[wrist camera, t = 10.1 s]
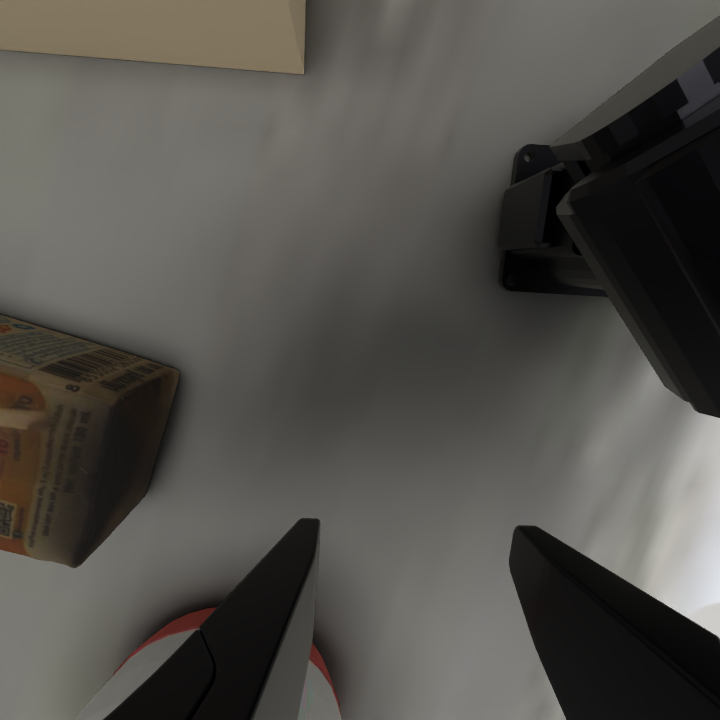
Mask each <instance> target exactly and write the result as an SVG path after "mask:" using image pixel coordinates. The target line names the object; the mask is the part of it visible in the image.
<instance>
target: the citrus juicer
mask: <svg viewBox="0 0 720 720" xmlns="http://www.w3.org/2000/svg"><path fill="white" fill-rule="evenodd" d="M216 608H217V607H216ZM216 608H207V609H203V610H199V611H195V612H192V613H189V614H186V615H184V616H182V617H180V618H178V619H176V620H173V621H172V622H170V623H169V624H168V625H166V626H165V627H163V628H162V629H161V630H159V631H158V632H157V633H155V634H154V635H153V636H152V637H151V638H149V639H148V640H147V641H146V642H144V643H143V644H142V645H141V646H140V647H139V648H138V649H136V650H135V651H134V652H133V653H132V654H131V655H130V656H129V657H128V658H127V659H126V660H125V661H124V662H123V663H122V664H121V666H120V667H119V668H118V669H117V670H116V671H115V673H114V675H113V676H112V678H111V679H110V680H109V681H108V682H107V683H106V684H105V685H104V686H103V687H102V688H101V689H100V690H99V691H98V692H97V693H96V695H95V696H94V697H93V698H92V699H91V700H90V701H89V702H88V703H87V705H86V706H85V707H84V708H83V709H82V710H81V712H80V713H79V714H78V716H77V717H76V718H75V719H74V720H103V719H104V718H105V717H106V716H107V715H109V714H110V713H111V712H112V711H113V710H114V709H115V708H116V707H118V706H119V705H120V704H121V703H122V702H123V701H124V700H125V699H126V698H127V697H128V696H130V695H131V694H132V693H133V692H134V691H135V690H136V689H137V688H138V687H139V686H140V685H141V684H143V683H144V682H145V681H146V680H147V679H148V678H149V677H150V676H151V675H152V674H153V673H154V672H155V671H156V670H157V669H158V668H159V667H160V666H161V665H162V664H163V663H164V662H165V661H166V660H167V659H168V658H169V657H170V656H171V655H172V654H173V653H174V652H175V651H176V650H177V649H178V648H179V647H180V646H181V645H182V644H183V643H184V642H185V641H186V640H187V639H188V638H189V636H190V635H191V634H192V633H193V632H194V631H195V630H198V629H199V626H200V625H201V624H202V623H203V622H204V621H205V620H206V619H207V618H208V616H209V615H210V614H211V613H212V612H213V611H214V610H215V609H216ZM297 720H342V719H341V713H340V703H339V701H338V698H337V695H336V692H335V689H334V687H333V684H332V681H331V679H330V676H329V673H328V670H327V668H326V666H325V663H324V661H323V658H322V656H321V655H320V653H319V652H318V650H317V648H316V647H315V645H314V644H313V642H312V645H311V652H310V657H309V662H308V668H307V673H306V678H305V683H304V688H303V693H302V699H301V704H300V709H299V714H298V719H297Z"/></svg>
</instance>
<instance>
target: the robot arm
mask: <svg viewBox="0 0 720 720" xmlns="http://www.w3.org/2000/svg"><path fill="white" fill-rule="evenodd" d="M526 152H527V153H529V154H530V155H531V161H530V162H526V161H525V160H524V154H525V153H526ZM498 245H499V247H500V248H501V250H503V252H502V259H501V267H500V274H499V285H500V287H501V288H503V289H504V290H508V291H519V292H536V293H553V294H570V295H587V296H603V297H609V299H610V300H611V302H612V303H613V305H614V307H615V308H616V310H617V311H618V313H619V315H620V316H621V318H622V319H623V321H624V322H625V324H626V326H627V327H628V329H629V330H630V332H631V334H632V335H633V337H634V338H635V340H636V342H637V343H638V345H639V346H640V348H641V350H642V351H643V353H644V354H645V356H646V357H647V359H648V361H649V362H650V364H651V365H652V367H653V369H654V370H655V372H656V373H657V375H658V377H659V378H660V380H661V381H662V383H663V385H664V386H665V387H666V388H668V389H669V390H670V391H672V392H673V393H675V394H676V395H677V396H679V397H680V398H682V399H683V400H685V401H687V402H690V403H691V405H692V407H693V408H694V410H695V411H697V412H699V413H703V414H707V415H710V416H714V417H718V418H720V16H718V17H717V18H715V19H714V20H713V21H711V22H710V23H708V24H707V25H705V26H704V27H703V28H701V29H700V30H698V31H697V32H695V33H694V34H693V35H691V36H690V37H688V38H687V39H685V40H684V41H683V42H681V43H680V44H678V45H677V46H675V47H674V48H673V49H671V50H670V51H669V52H667V53H666V54H665V55H664V56H662V57H661V58H660V59H659V60H657V61H656V62H655V63H654V64H652V65H651V66H650V67H649V68H647V69H646V70H645V71H644V72H642V73H641V74H640V75H638V76H637V77H636V78H635V79H633V80H632V81H631V82H630V83H628V84H627V85H626V86H625V87H623V88H622V89H621V90H620V91H618V92H617V93H616V94H615V95H613V96H612V97H611V98H610V99H608V100H607V101H606V102H605V103H603V104H602V105H601V106H600V107H598V108H597V109H596V110H594V111H593V112H592V113H591V114H589V115H588V116H587V117H586V118H584V119H583V120H582V121H581V122H579V123H578V124H577V125H576V126H574V127H573V128H572V129H571V130H569V131H568V132H567V133H566V134H564V135H563V136H562V137H561V138H559V139H558V140H557V141H556V142H554V143H553V144H552V145H551V146H549V145H536V144H529V145H526V146H524V147H522V148H521V149H519V151H518V152H517V153H516V156H515V162H514V169H513V177H512V184H511V186H510V187H509V188H508V189H507V190H506V191H505V196H504V204H503V211H502V219H501V227H500V234H499V242H498ZM510 275H512V276H513V277H514V282H513V283H512V284H511V285H508V284H507V278H508V277H509V276H510ZM319 546H320V520H319V519H313V518H301V519H299V520H298V521H297V523H296V524H295V525H294V526H293V527H292V528H291V529H290V530H289V531H288V532H287V533H286V534H285V535H284V536H283V537H282V539H281V540H280V541H279V542H278V543H277V544H276V545H275V546H274V547H273V548H272V549H271V550H270V551H269V552H268V553H267V555H266V556H265V557H264V558H263V559H262V560H261V561H260V562H259V563H258V564H257V565H256V566H255V567H254V568H253V569H252V571H251V572H250V573H249V574H248V575H247V576H246V577H245V578H244V579H243V580H242V581H241V582H240V583H239V584H238V586H237V587H236V588H235V589H234V590H233V591H232V592H231V593H230V594H229V595H228V596H227V597H226V598H225V599H224V600H223V602H222V603H221V604H220V605H219V606H218V607H217V608H216V609H215V610H214V611H213V612H212V613H211V614H210V615H209V616H208V618H207V619H206V620H205V621H204V622H203V623H202V624H201V625H200V626H199V629H198V630H195V631H194V632H193V633H192V634H191V635H190V636H189V638H188V639H187V640H186V641H185V642H184V643H183V644H182V645H181V646H180V647H179V648H178V649H177V650H176V651H175V652H174V653H173V654H172V655H171V656H170V657H169V658H168V659H167V660H166V661H165V662H164V663H163V664H162V665H161V666H160V667H159V668H158V669H157V670H156V671H155V672H154V673H153V674H152V675H151V676H150V677H149V678H148V679H147V680H146V681H145V682H144V683H143V684H141V685H140V686H139V687H138V688H137V689H136V690H135V691H134V692H133V693H132V694H131V695H130V696H128V697H127V698H126V699H125V700H124V701H123V702H122V703H121V704H120V705H119V706H118V707H116V708H115V709H114V710H113V711H112V712H111V713H110V714H109V715H107V716H106V717H105V718H104V719H103V720H297V719H298V714H299V709H300V704H301V699H302V693H303V688H304V683H305V678H306V673H307V668H308V662H309V657H310V652H311V645H312V638H313V629H314V617H315V604H316V591H317V578H318V565H319ZM509 567H510V572H511V575H512V578H513V581H514V584H515V587H516V591H517V594H518V597H519V600H520V603H521V606H522V609H523V612H524V615H525V618H526V621H527V624H528V628H529V631H530V634H531V637H532V639H533V642H534V645H535V648H536V650H537V653H538V655H539V657H540V660H541V662H542V665H543V667H544V669H545V671H546V674H547V676H548V678H549V681H550V683H551V685H552V688H553V690H554V692H555V694H556V697H557V699H558V701H559V704H560V706H561V708H562V711H563V713H564V715H565V717H566V720H720V639H719V637H718V636H716V635H714V634H713V633H711V632H710V631H708V630H706V629H705V628H703V627H701V626H700V625H698V624H696V623H695V622H693V621H691V620H690V619H688V618H687V617H685V616H683V615H682V614H680V613H678V612H677V611H675V610H673V609H672V608H670V607H668V606H667V605H665V604H664V603H662V602H660V601H659V600H657V599H655V598H654V597H652V596H650V595H649V594H647V593H645V592H644V591H642V590H640V589H639V588H637V587H636V586H634V585H632V584H631V583H629V582H627V581H626V580H624V579H622V578H621V577H619V576H617V575H616V574H614V573H613V572H611V571H609V570H608V569H606V568H604V567H603V566H601V565H599V564H598V563H596V562H594V561H593V560H591V559H590V558H588V557H586V556H585V555H583V554H581V553H580V552H578V551H576V550H575V549H573V548H571V547H570V546H568V545H566V544H565V543H563V542H562V541H560V540H558V539H557V538H555V537H553V536H552V535H550V534H548V533H547V532H545V531H543V530H542V529H540V528H539V527H537V526H526V525H518V526H517V527H515V529H514V532H513V538H512V544H511V551H510V557H509Z"/></svg>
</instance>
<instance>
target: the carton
mask: <svg viewBox="0 0 720 720" xmlns="http://www.w3.org/2000/svg"><path fill="white" fill-rule="evenodd" d="M305 15H306V0H0V50H10V51H22V52H34V53H47V54H59V55H71V56H83V57H95V58H108V59H120V60H132V61H144V62H157V63H169V64H181V65H193V66H205V67H218V68H230V69H242V70H254V71H267V72H279V73H291V74H303V75H304V54H305Z"/></svg>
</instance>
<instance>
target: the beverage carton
mask: <svg viewBox="0 0 720 720" xmlns="http://www.w3.org/2000/svg"><path fill="white" fill-rule="evenodd" d="M178 380H179V372H178V370H176V369H173V368H170V367H166V366H163V365H160V364H158V363H155V362H153V361H150V360H146V359H143V358H140V357H137V356H134V355H131V354H128V353H125V352H122V351H119V350H116V349H112V348H109V347H106V346H103V345H99V344H96V343H93V342H90V341H86V340H83V339H80V338H76V337H73V336H70V335H66V334H63V333H60V332H56V331H53V330H49V329H46V328H42V327H39V326H36V325H33V324H30V323H27V322H23V321H19V320H16V319H13V318H10V317H7V316H3V315H0V550H4V551H9V552H13V553H17V554H21V555H25V556H28V557H31V558H34V559H37V560H44V561H52V562H56V563H60V564H64V565H68V566H70V567H71V568H76V567H78V566H80V565H81V564H82V563H83V562H84V561H85V560H86V559H87V558H88V557H89V556H90V555H91V554H92V553H93V552H94V551H95V550H96V549H97V548H98V547H99V546H100V545H101V544H102V543H103V542H104V541H105V539H106V538H107V537H108V536H109V535H110V534H111V533H112V532H113V531H114V530H115V528H116V527H117V526H118V525H119V524H120V523H121V522H122V521H123V520H124V519H125V518H126V517H127V515H128V514H129V513H130V512H131V511H132V510H133V509H134V508H135V507H136V506H137V505H138V504H139V502H140V501H141V500H142V499H143V498H144V497H145V495H146V493H147V490H148V486H149V483H150V480H151V476H152V471H153V467H154V464H155V460H156V457H157V453H158V450H159V446H160V443H161V439H162V436H163V433H164V429H165V426H166V422H167V419H168V415H169V411H170V408H171V405H172V401H173V397H174V394H175V390H176V387H177V383H178Z"/></svg>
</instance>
